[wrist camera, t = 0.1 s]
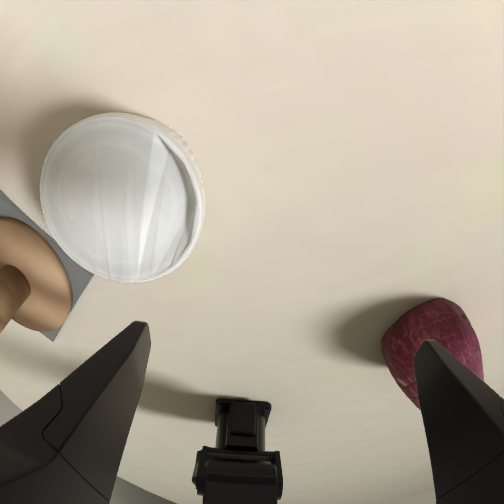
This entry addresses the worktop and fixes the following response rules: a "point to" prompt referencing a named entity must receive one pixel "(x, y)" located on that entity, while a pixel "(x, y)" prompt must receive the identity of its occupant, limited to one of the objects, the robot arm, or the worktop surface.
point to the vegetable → (430, 328)
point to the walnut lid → (31, 279)
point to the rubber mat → (76, 273)
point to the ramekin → (123, 196)
